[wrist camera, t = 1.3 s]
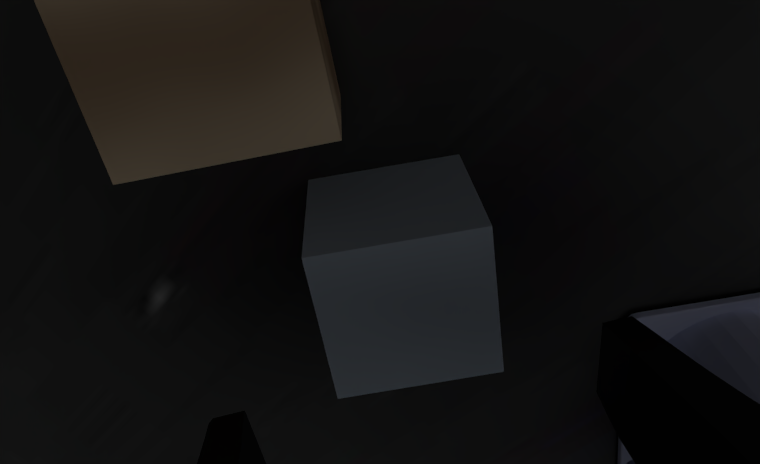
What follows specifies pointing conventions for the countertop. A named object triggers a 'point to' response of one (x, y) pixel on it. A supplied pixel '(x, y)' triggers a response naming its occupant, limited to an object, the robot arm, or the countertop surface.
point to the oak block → (196, 79)
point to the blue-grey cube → (402, 276)
